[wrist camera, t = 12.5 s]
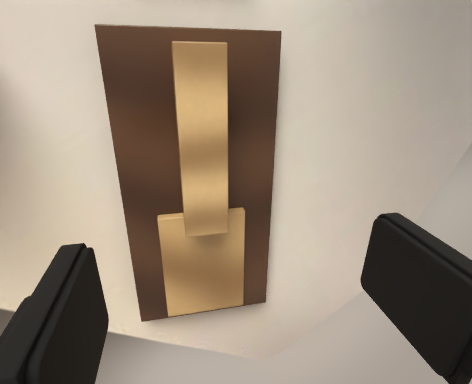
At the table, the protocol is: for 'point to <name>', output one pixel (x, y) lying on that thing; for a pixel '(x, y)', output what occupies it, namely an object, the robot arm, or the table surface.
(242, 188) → the walnut board
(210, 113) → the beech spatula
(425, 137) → the table surface
